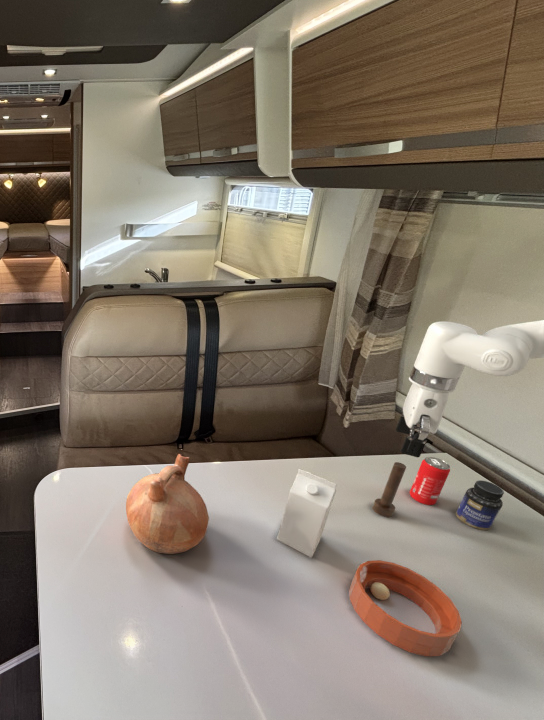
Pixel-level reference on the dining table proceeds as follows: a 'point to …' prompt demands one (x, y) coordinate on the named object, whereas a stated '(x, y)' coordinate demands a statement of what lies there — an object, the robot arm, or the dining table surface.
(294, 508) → the milk carton
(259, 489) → the dining table surface
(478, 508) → the pill bottle
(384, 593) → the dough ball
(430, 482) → the beverage can
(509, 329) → the robot arm
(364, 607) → the ring
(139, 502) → the jug
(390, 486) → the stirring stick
